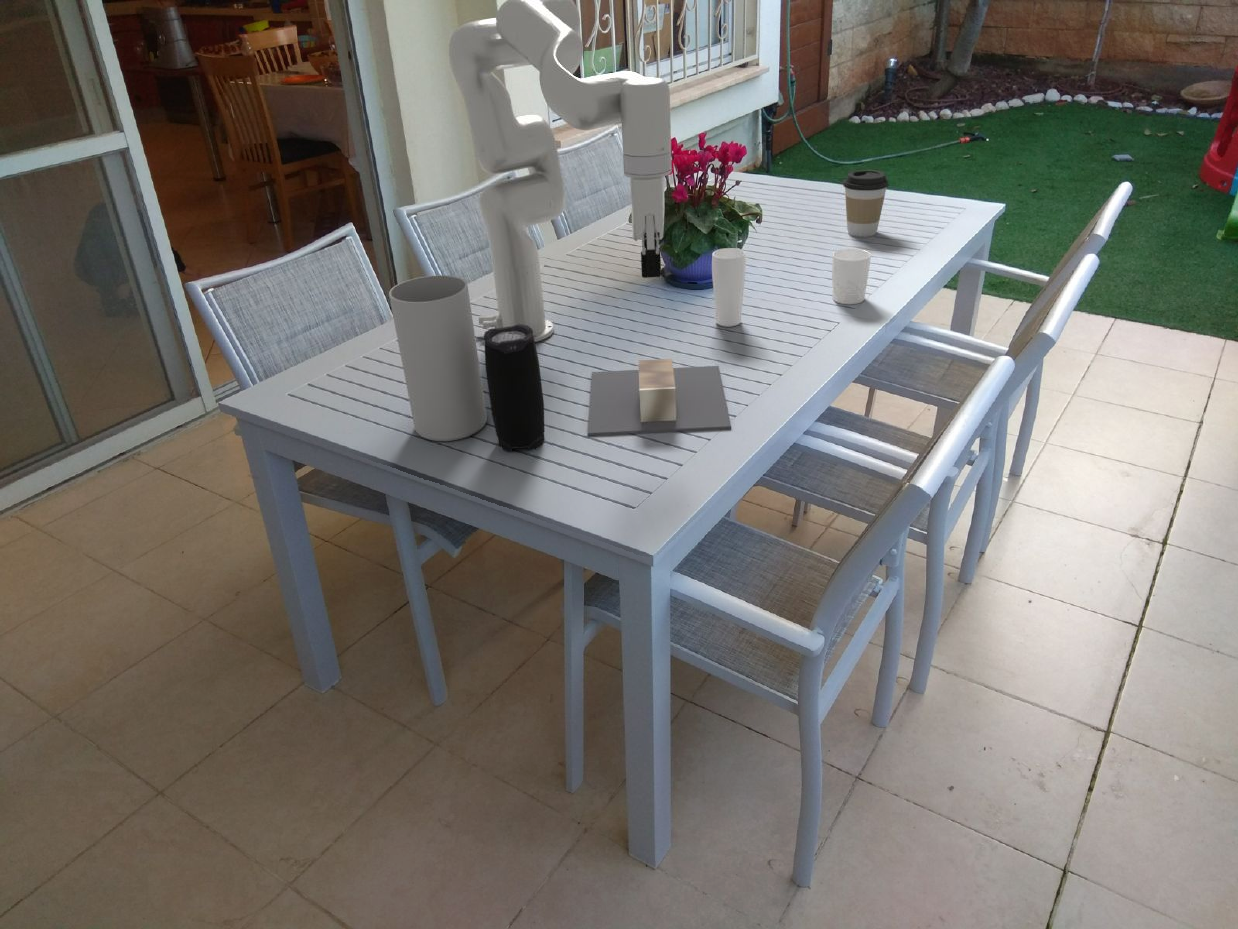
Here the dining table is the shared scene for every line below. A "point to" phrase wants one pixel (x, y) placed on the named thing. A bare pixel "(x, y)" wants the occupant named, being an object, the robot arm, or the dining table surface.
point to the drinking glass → (728, 285)
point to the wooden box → (657, 390)
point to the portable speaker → (515, 387)
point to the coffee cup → (864, 201)
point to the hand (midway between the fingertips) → (651, 275)
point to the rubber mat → (621, 402)
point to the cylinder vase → (439, 356)
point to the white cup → (850, 275)
